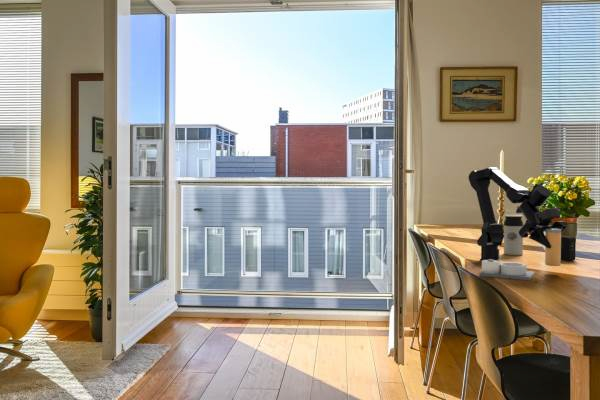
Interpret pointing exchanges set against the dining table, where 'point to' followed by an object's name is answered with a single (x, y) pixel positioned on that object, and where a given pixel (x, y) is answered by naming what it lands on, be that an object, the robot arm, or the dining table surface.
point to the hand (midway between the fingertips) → (556, 247)
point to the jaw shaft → (553, 247)
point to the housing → (505, 270)
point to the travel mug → (513, 235)
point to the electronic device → (568, 248)
